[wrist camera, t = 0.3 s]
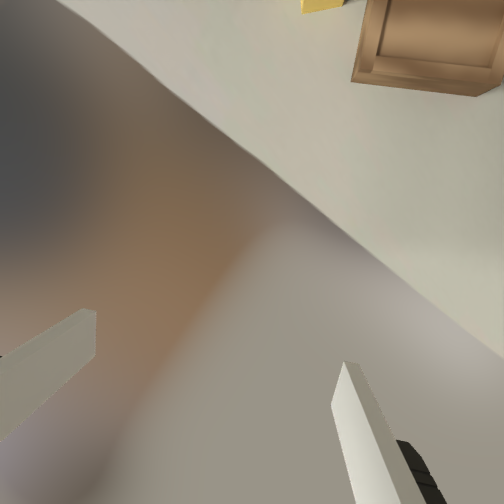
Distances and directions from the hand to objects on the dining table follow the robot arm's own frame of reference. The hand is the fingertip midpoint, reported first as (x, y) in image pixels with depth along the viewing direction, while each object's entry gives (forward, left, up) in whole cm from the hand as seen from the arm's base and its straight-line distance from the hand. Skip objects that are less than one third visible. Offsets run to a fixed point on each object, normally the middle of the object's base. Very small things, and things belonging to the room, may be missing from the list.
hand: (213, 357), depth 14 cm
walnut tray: (-32, +17, -28) cm, 46 cm away
